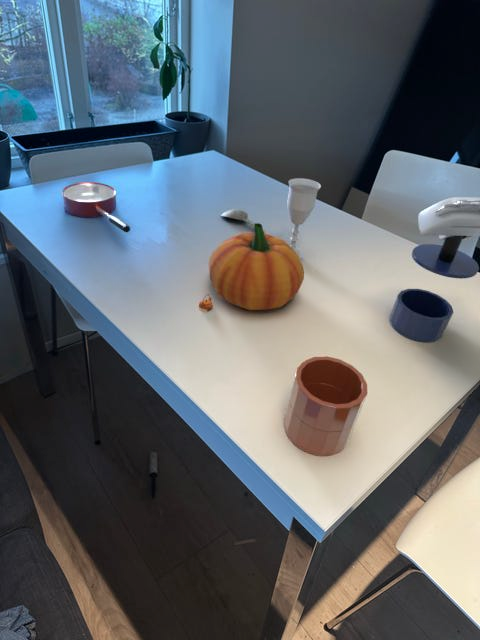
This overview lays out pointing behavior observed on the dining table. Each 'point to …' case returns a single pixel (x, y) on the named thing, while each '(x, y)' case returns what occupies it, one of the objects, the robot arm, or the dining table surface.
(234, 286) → the pumpkin
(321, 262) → the dining table surface
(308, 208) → the chalice
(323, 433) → the pot
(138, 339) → the dining table surface
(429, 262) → the lid
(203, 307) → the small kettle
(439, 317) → the blue round container
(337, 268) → the dining table surface
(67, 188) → the frying pan
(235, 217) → the soupspoon
